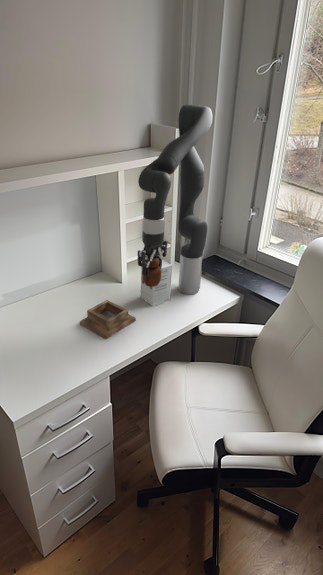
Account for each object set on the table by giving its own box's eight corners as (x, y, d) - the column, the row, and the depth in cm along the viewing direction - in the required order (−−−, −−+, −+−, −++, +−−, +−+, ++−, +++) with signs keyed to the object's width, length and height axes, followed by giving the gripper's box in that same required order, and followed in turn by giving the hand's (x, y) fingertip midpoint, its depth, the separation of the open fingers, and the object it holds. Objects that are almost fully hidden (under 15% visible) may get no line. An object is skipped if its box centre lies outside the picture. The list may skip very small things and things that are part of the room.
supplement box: (139, 296, 175) (140, 261, 167) (157, 290, 180) (158, 256, 172) (152, 306, 169) (154, 270, 160) (170, 300, 174) (172, 264, 165)
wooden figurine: (144, 289, 149) (145, 251, 141) (141, 281, 154) (141, 245, 146) (162, 287, 151) (164, 250, 143) (158, 280, 155) (160, 243, 148)
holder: (109, 307, 166) (109, 296, 164) (135, 320, 159) (135, 308, 156) (79, 324, 155) (79, 312, 153) (106, 339, 148) (105, 326, 145)
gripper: (158, 221, 148) (156, 262, 156) (131, 232, 138) (131, 275, 147) (174, 226, 144) (172, 268, 153) (148, 238, 134) (147, 282, 143)
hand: (152, 271), depth 149 cm, fingers closed on wooden figurine, 6 cm apart
